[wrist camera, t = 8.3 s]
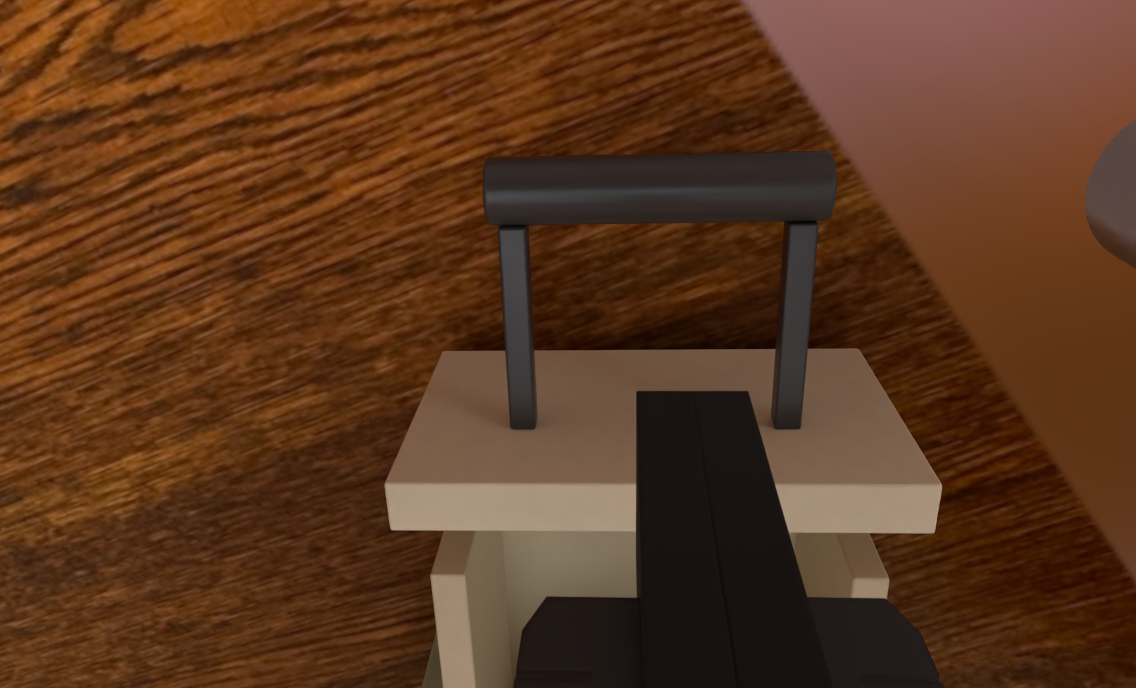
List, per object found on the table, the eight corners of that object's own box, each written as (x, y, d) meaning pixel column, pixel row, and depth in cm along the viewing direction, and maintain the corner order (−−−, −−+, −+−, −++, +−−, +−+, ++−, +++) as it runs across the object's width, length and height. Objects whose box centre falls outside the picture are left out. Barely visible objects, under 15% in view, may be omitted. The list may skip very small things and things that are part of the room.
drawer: (420, 124, 22) (344, 189, 16) (885, 114, 21) (994, 178, 15) (476, 712, 30) (440, 910, 24) (817, 719, 29) (871, 924, 23)
